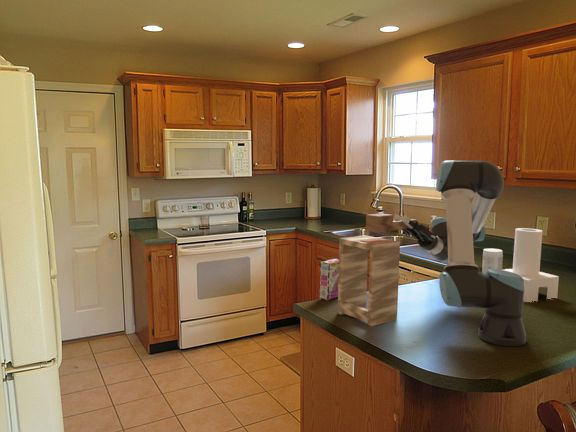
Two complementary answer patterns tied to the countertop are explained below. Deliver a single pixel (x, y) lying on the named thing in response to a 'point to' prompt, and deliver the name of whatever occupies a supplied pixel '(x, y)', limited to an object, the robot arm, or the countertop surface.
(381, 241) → the mat
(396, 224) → the mallet
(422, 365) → the countertop surface
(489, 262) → the supplement tub
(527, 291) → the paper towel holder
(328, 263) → the candy bar box
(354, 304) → the wooden open frame
